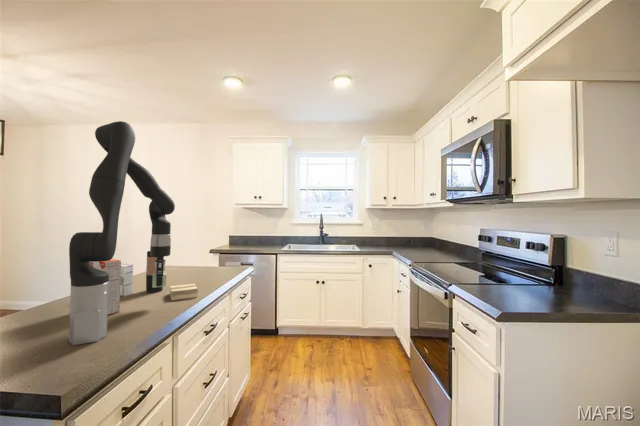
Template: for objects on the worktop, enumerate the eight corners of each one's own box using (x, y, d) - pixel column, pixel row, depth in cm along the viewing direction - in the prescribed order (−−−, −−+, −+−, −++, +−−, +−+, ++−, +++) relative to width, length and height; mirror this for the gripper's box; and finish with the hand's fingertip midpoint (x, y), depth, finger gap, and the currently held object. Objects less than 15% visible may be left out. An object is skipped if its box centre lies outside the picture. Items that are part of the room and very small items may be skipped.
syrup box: (133, 293, 135) (134, 263, 135) (123, 296, 129) (124, 265, 129) (122, 292, 135) (123, 262, 136) (112, 295, 130) (113, 265, 130)
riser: (197, 297, 131) (197, 288, 131) (171, 300, 126) (171, 291, 126) (194, 291, 141) (194, 283, 141) (170, 294, 135) (170, 285, 135)
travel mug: (146, 289, 142) (148, 250, 142) (163, 288, 145) (165, 250, 145) (144, 293, 135) (145, 252, 135) (162, 292, 138) (163, 252, 138)
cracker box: (84, 310, 111) (86, 257, 111) (101, 305, 116) (103, 256, 116) (102, 317, 104) (104, 261, 104) (120, 312, 109) (121, 259, 110)
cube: (166, 286, 117) (166, 274, 117) (152, 287, 114) (152, 275, 114) (165, 283, 121) (166, 272, 121) (152, 285, 119) (152, 273, 119)
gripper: (171, 246, 114) (169, 287, 113) (170, 243, 126) (168, 280, 126) (149, 246, 110) (148, 289, 110) (150, 243, 123) (149, 282, 122)
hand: (159, 284), depth 118 cm, fingers closed on cube, 5 cm apart
